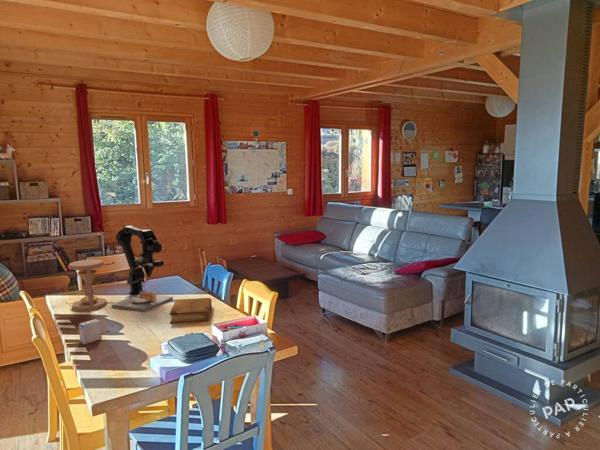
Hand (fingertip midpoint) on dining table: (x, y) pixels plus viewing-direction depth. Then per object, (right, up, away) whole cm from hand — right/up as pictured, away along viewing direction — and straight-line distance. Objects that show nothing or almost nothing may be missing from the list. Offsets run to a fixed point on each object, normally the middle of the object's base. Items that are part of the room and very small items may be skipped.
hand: (149, 276), depth 260 cm
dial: (+2, -12, -13) cm, 18 cm away
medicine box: (-4, -21, -64) cm, 67 cm away
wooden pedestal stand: (-28, -15, -15) cm, 35 cm away
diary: (+33, -17, -32) cm, 49 cm away
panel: (0, -14, -11) cm, 18 cm away
